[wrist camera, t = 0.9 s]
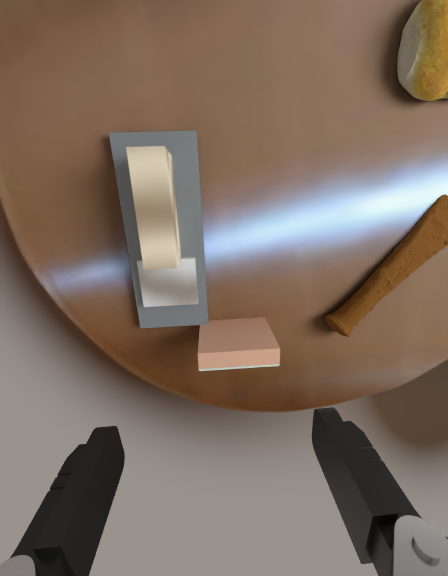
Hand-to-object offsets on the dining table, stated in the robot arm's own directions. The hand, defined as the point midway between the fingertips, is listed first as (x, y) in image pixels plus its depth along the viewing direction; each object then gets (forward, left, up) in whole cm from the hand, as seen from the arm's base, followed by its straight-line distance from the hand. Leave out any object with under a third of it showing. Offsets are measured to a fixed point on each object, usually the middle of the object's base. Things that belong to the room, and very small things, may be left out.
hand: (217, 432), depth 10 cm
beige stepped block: (-6, -5, -19) cm, 20 cm away
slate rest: (-5, -5, -20) cm, 21 cm away
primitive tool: (-1, +21, -20) cm, 29 cm away
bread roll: (-21, +22, -20) cm, 37 cm away
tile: (+6, +2, -20) cm, 21 cm away
